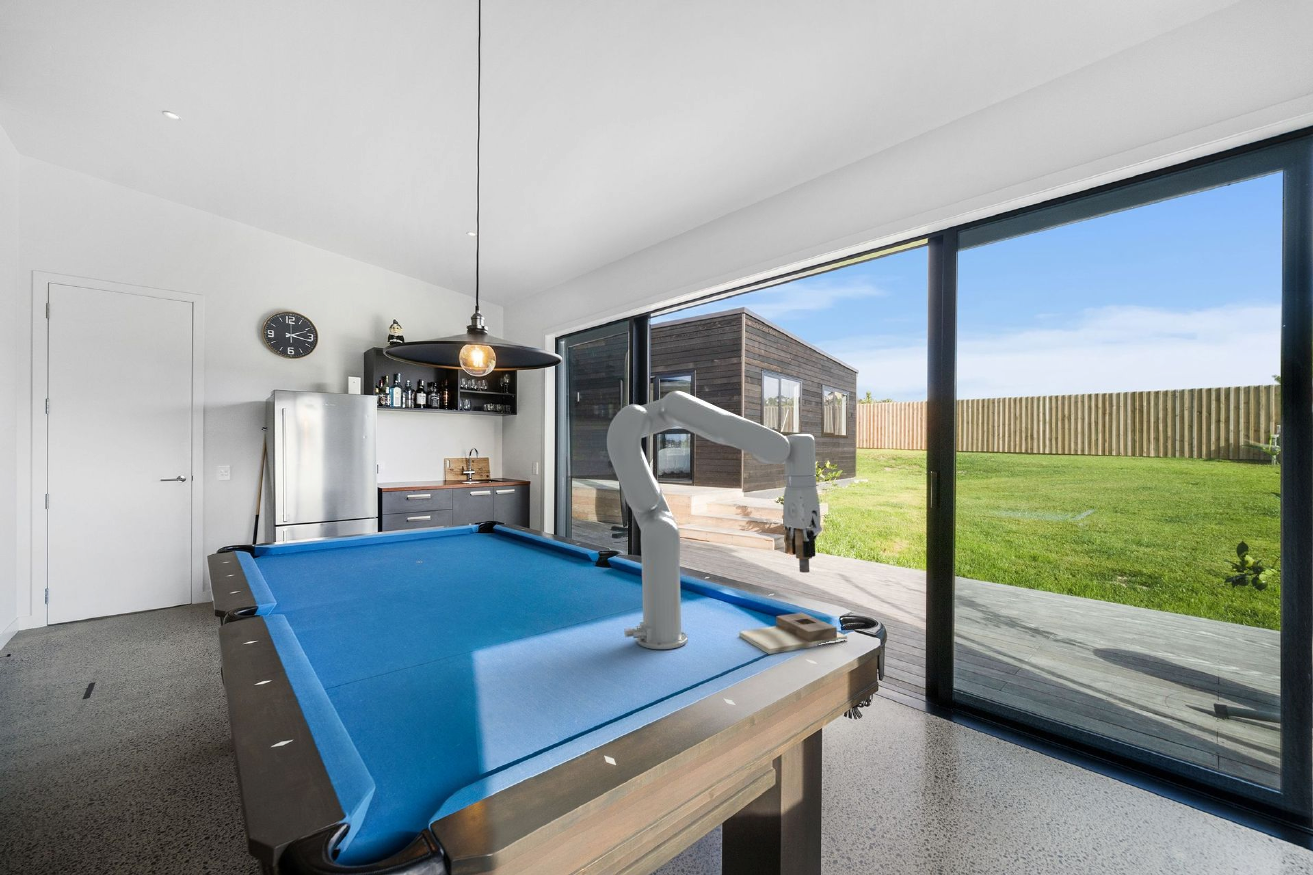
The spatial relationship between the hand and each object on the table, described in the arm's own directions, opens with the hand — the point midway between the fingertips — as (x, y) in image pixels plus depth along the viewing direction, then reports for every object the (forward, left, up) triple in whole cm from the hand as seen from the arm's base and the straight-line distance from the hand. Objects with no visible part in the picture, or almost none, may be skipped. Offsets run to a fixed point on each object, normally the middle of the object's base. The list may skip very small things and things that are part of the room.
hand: (803, 554), depth 140 cm
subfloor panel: (-4, 0, -20) cm, 21 cm away
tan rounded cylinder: (0, 0, -4) cm, 4 cm away
